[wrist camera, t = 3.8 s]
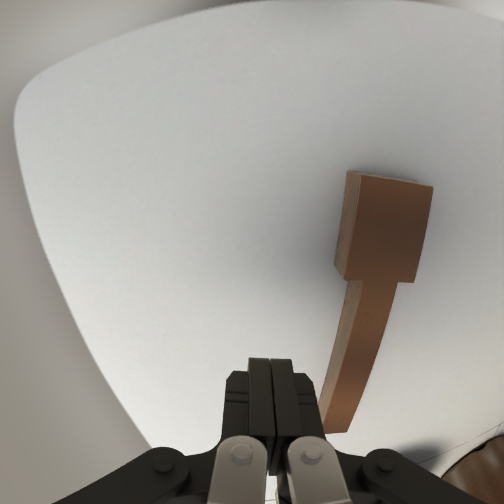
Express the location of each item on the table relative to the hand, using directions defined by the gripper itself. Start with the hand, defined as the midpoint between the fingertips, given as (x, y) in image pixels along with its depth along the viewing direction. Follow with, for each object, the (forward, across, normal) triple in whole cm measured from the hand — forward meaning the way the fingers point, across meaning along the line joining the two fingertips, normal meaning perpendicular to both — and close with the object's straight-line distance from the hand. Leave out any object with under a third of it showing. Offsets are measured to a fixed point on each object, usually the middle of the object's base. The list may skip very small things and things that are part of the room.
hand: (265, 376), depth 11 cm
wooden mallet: (+7, -6, +1) cm, 9 cm away
